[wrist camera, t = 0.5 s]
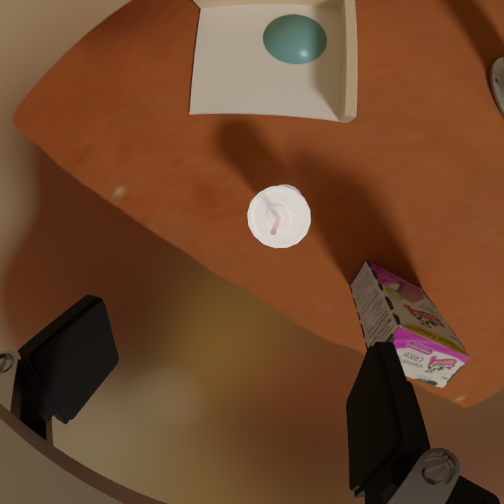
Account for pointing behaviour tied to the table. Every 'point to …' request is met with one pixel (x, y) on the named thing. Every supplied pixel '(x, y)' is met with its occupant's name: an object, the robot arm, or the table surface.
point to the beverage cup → (279, 216)
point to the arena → (276, 58)
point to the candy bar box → (407, 325)
